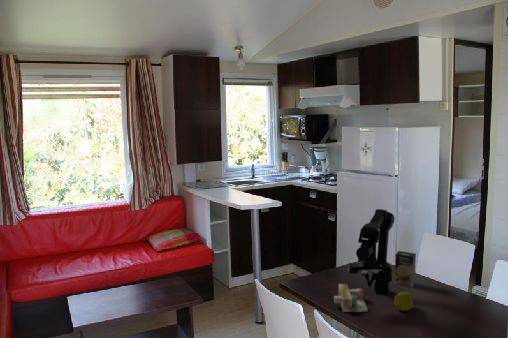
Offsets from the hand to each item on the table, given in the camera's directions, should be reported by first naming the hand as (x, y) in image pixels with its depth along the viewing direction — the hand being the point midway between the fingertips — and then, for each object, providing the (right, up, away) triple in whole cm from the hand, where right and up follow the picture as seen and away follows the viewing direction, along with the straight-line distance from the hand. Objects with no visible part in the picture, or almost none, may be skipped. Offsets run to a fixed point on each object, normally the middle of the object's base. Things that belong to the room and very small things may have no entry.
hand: (369, 286), depth 203 cm
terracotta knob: (-6, -7, +10) cm, 13 cm away
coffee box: (+26, -6, +28) cm, 38 cm away
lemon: (+15, -10, -2) cm, 18 cm away
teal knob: (-11, -8, +2) cm, 14 cm away
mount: (-6, -9, +6) cm, 13 cm away
